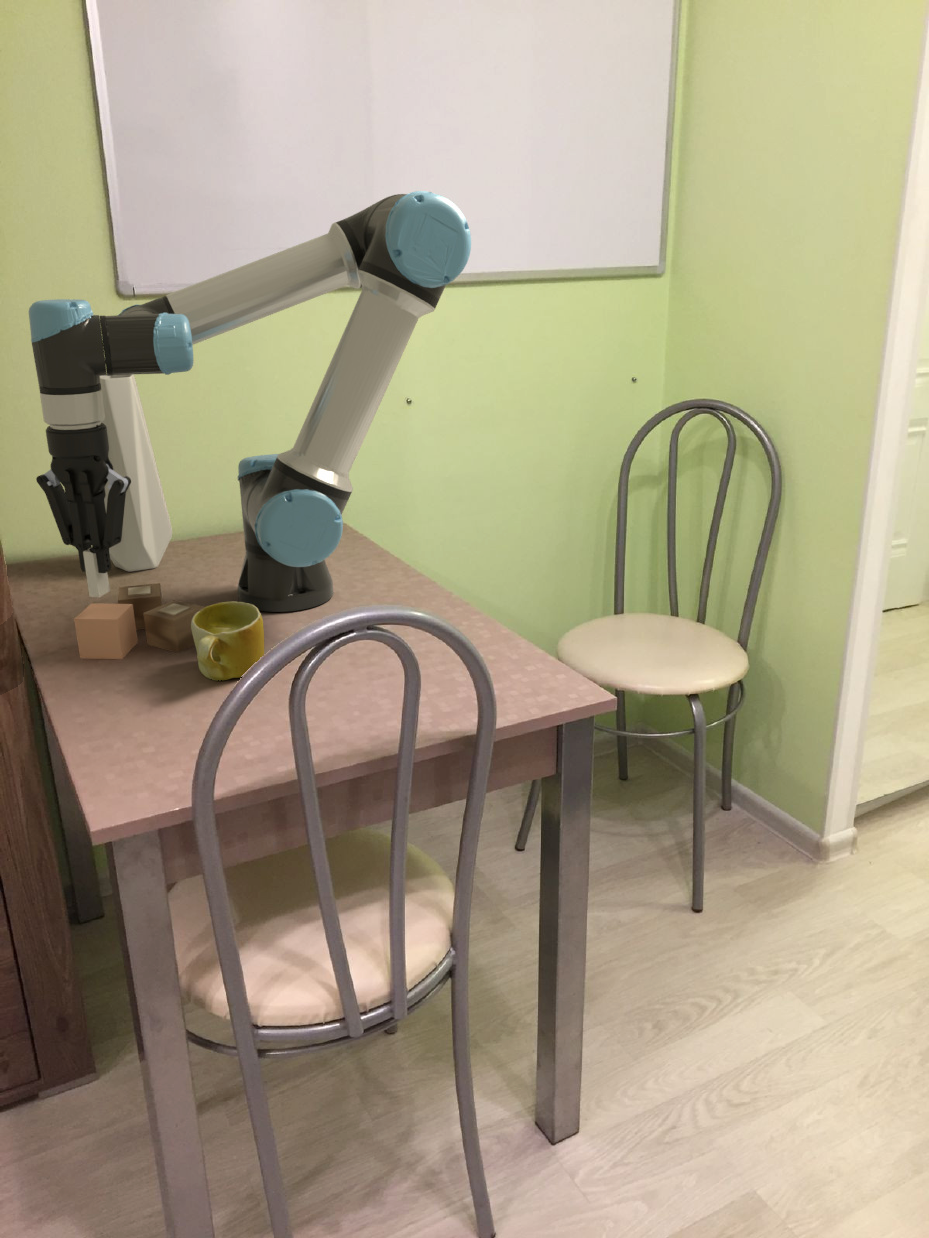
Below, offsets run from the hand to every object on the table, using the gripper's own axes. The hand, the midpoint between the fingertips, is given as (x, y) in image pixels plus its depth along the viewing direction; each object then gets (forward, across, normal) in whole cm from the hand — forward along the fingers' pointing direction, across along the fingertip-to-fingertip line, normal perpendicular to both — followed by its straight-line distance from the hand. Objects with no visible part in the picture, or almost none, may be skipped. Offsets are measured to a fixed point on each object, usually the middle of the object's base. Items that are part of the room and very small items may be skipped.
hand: (99, 593), depth 140 cm
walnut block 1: (+9, +1, -11) cm, 14 cm away
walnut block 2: (+9, -8, -5) cm, 13 cm away
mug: (+9, -20, +4) cm, 22 cm away
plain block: (+9, 0, 0) cm, 9 cm away
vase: (+9, +16, -36) cm, 40 cm away
